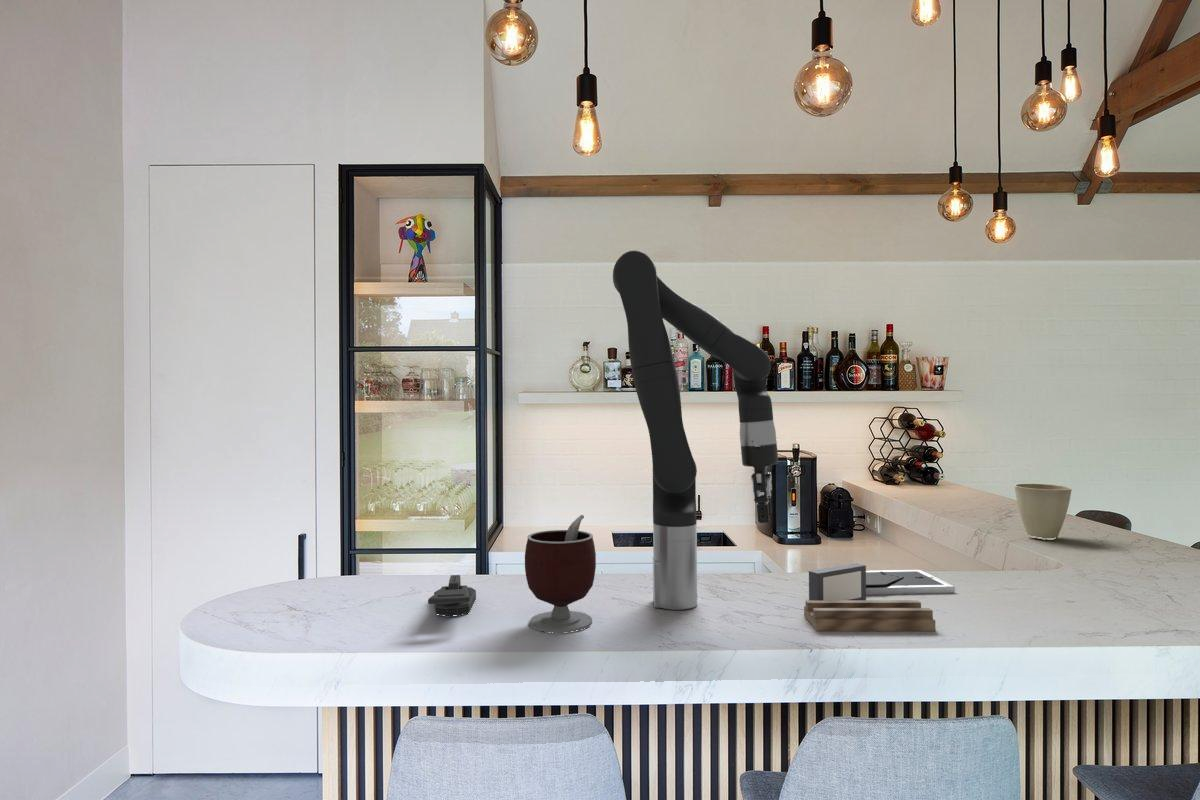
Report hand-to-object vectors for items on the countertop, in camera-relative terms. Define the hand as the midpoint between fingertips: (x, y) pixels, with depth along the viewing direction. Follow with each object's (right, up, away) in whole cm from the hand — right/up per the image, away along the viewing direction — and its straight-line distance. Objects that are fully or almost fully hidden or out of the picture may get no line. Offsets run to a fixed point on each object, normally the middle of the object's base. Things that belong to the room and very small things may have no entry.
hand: (765, 518), depth 151 cm
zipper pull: (-65, -19, -5) cm, 68 cm away
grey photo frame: (+15, -18, -1) cm, 23 cm away
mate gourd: (-42, -19, -11) cm, 48 cm away
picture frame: (+33, -19, +15) cm, 41 cm away
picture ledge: (+17, -18, -13) cm, 28 cm away
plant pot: (+101, -17, +67) cm, 122 cm away
